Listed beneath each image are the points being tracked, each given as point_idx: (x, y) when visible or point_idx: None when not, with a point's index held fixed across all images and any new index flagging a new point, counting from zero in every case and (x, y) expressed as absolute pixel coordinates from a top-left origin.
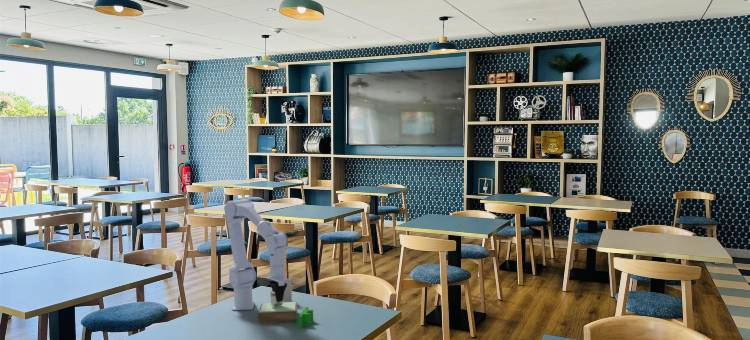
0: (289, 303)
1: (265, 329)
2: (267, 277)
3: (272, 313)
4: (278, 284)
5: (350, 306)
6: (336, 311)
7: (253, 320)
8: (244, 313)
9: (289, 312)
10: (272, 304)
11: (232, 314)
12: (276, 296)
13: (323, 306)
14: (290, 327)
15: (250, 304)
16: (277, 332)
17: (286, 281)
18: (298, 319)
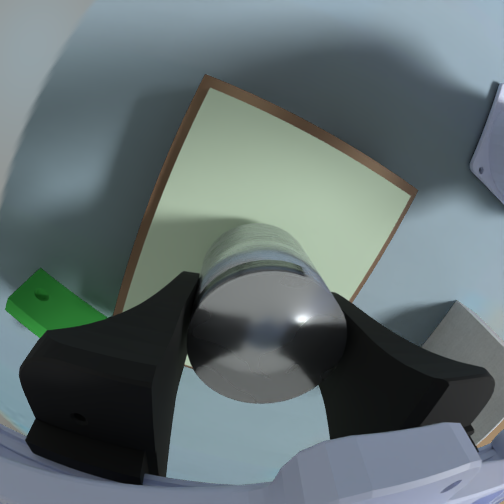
0: None
1: (90, 101)
2: (376, 491)
3: (157, 184)
4: (35, 427)
5: (222, 481)
6: (193, 451)
7: (296, 81)
8: (443, 102)
9: (118, 297)
10: (238, 229)
11: (456, 48)
12: (158, 294)
13: (279, 442)
14: (61, 240)
15: (500, 176)
16: (25, 155)
17: (483, 422)
18: (16, 292)
